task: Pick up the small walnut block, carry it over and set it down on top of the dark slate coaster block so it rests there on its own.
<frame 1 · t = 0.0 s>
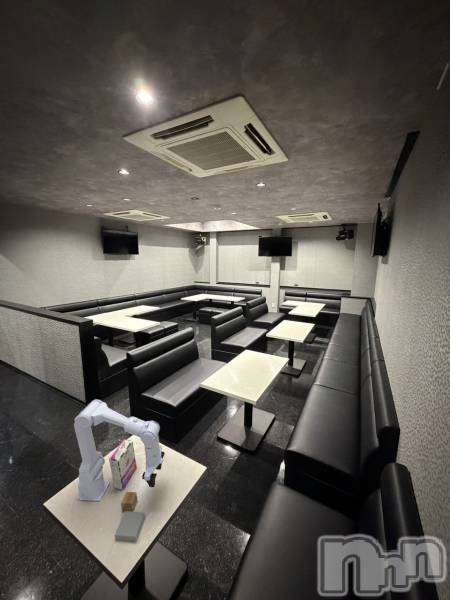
hand: (155, 477, 100), 10 cm above the table, fingers open, 7 cm apart
candy bar box: (125, 478, 111), on the table
slate coaster: (131, 529, 91), on the table
walnut block: (130, 506, 99), on the table
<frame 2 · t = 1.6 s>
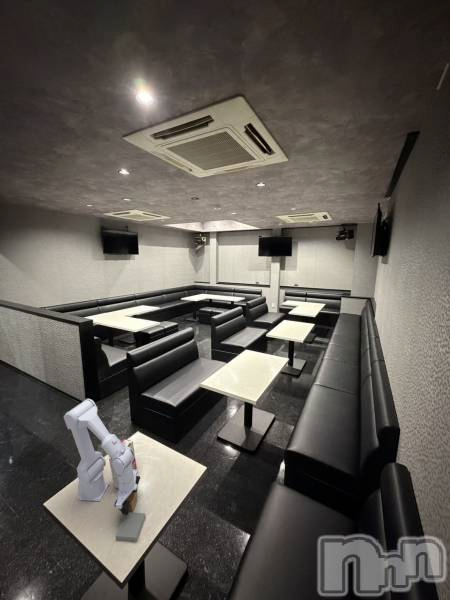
hand: (130, 503, 98), 2 cm above the table, fingers open, 7 cm apart
slate coaster: (131, 530, 91), on the table, touching gripper
everything else where it was.
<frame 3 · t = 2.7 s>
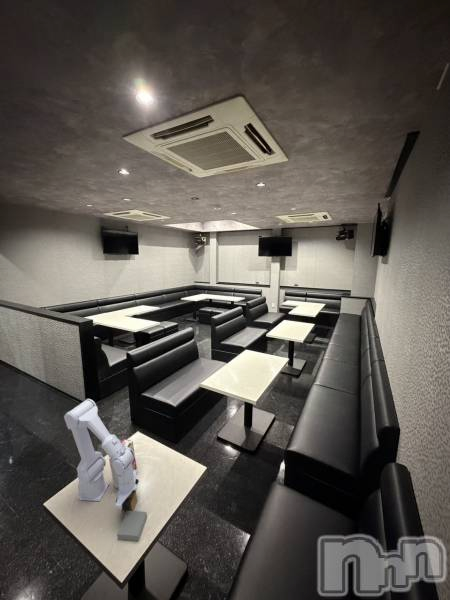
hand: (129, 503, 98), 2 cm above the table, fingers closed on walnut block, 4 cm apart
slate coaster: (133, 528, 91), on the table
walnut block: (129, 506, 99), on the table, touching gripper
everything else where it was.
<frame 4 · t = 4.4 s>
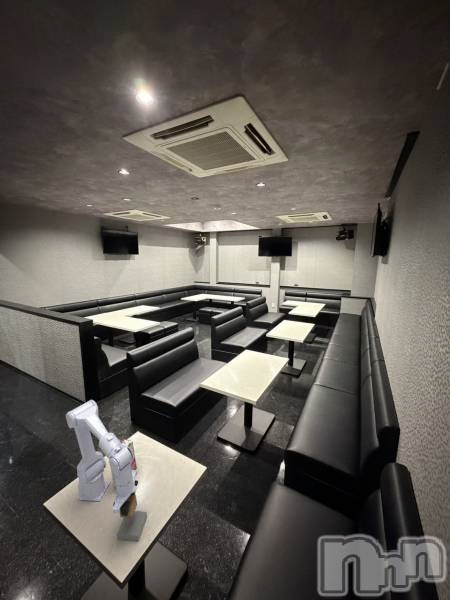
hand: (128, 507, 90), 9 cm above the table, fingers closed on walnut block, 4 cm apart
walnut block: (129, 510, 91), point 7 cm above the table, touching gripper
everything else where it was.
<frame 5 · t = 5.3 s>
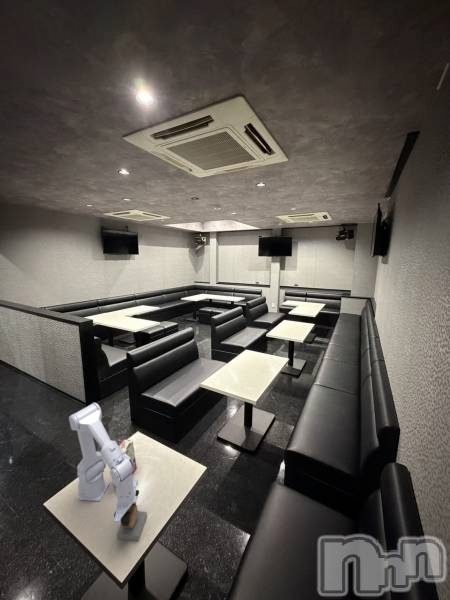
hand: (129, 517, 90), 6 cm above the table, fingers closed on walnut block, 4 cm apart
walnut block: (129, 520, 90), point 4 cm above the table, touching gripper
everything else where it was.
when the fingers open (6 cm above the table, at t = 6.0 s): walnut block drops 1 cm, point 3 cm above the table.
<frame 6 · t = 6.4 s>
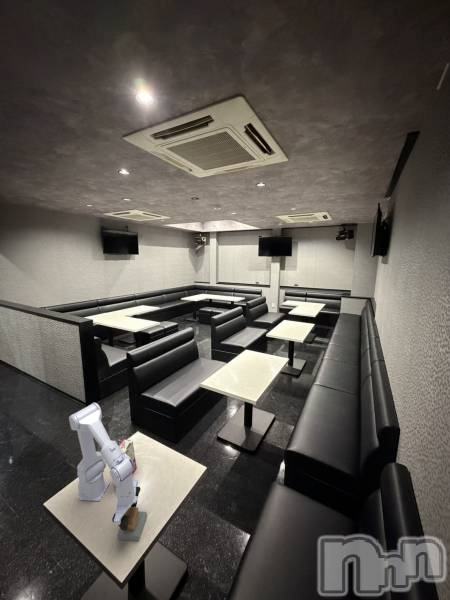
hand: (129, 517, 90), 6 cm above the table, fingers open, 7 cm apart
walnut block: (131, 523, 90), point 3 cm above the table
everything else where it was.
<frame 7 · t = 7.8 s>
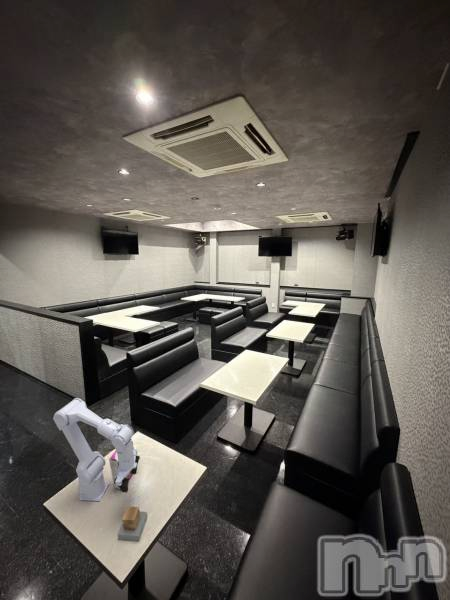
hand: (129, 482, 98), 10 cm above the table, fingers open, 7 cm apart
slate coaster: (133, 528, 91), on the table, touching walnut block
walnut block: (132, 523, 91), point 2 cm above the table, touching slate coaster
everything else where it was.
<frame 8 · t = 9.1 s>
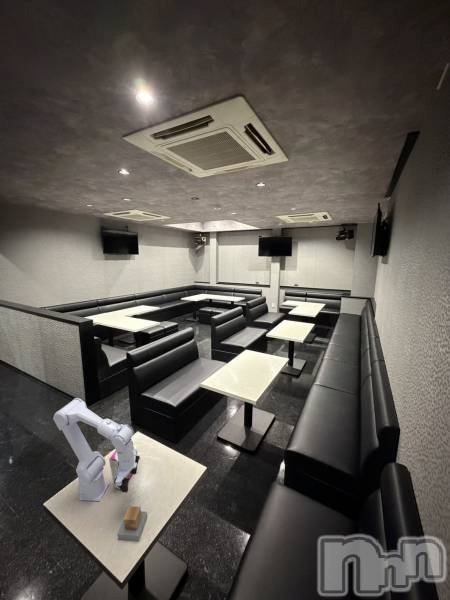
hand: (129, 482, 98), 10 cm above the table, fingers open, 7 cm apart
slate coaster: (133, 528, 91), on the table
walnut block: (133, 522, 91), point 3 cm above the table
everything else where it was.
at the end: walnut block 0.4 cm off-centre on the slate coaster, point 3.1 cm above the slate coaster's base; walnut block tilted 1°; the gripper is holding nothing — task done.
